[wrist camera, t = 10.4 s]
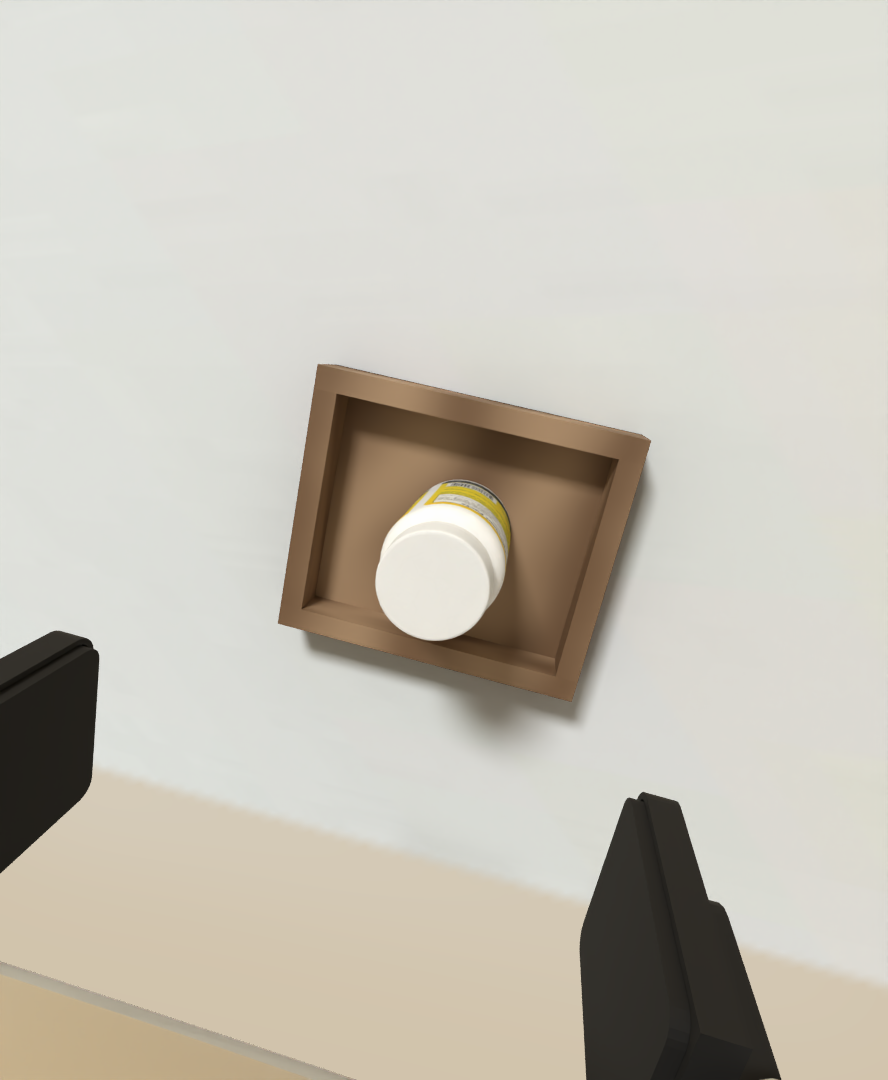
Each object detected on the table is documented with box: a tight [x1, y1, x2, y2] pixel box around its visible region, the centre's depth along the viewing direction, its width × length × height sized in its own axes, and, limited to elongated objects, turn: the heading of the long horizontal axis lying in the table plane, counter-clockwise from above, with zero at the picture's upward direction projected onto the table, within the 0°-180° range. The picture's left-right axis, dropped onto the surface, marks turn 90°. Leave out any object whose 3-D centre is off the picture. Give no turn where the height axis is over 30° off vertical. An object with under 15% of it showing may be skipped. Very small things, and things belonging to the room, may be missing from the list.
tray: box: [278, 364, 651, 702], centre depth 29 cm, size 14×12×2 cm
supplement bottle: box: [375, 480, 511, 641], centre depth 26 cm, size 5×5×8 cm
